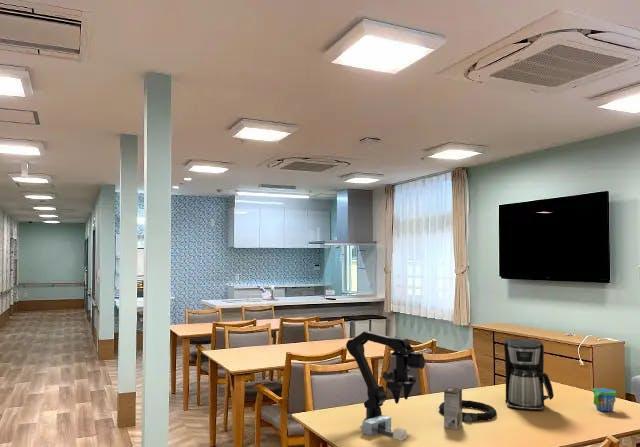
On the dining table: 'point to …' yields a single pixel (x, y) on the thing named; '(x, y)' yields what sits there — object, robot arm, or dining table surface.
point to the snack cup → (604, 399)
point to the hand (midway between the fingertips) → (401, 401)
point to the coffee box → (452, 408)
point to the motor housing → (376, 425)
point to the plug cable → (394, 433)
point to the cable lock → (475, 416)
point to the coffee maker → (525, 374)
